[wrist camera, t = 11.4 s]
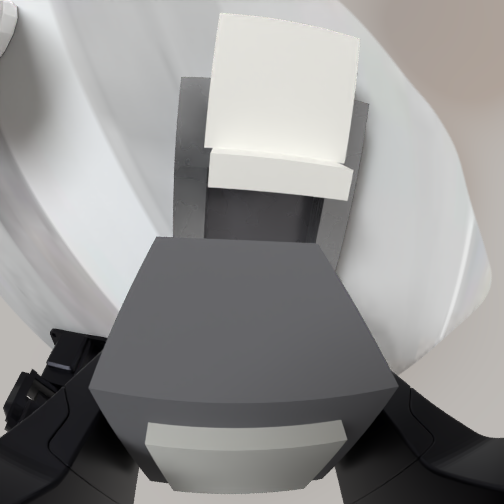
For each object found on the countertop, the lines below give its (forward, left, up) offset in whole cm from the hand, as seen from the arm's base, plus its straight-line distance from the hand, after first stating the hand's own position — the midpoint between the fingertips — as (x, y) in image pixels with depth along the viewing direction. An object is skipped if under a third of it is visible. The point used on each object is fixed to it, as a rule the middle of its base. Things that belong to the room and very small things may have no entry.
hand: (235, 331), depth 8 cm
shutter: (+7, -2, -8) cm, 11 cm away
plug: (0, 0, -1) cm, 1 cm away
